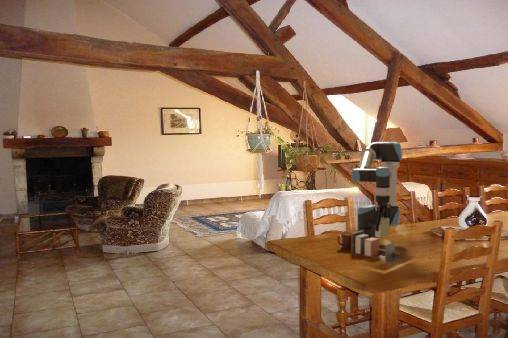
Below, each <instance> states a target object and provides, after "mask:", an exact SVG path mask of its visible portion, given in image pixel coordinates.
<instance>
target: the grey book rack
mask: <svg viewBox="0 0 508 338" xmlns="http://www.w3.org/2000/svg"><path fill="white" fill-rule="evenodd" d="M353 232H354V231H353ZM361 234H364V231H358V232H357V231H355V232H354V233H351V249H350V254H354V255H359V256H362V257H367V258H372V259H376V260H381V261H383V262H384V261H385V262H392V261H388V260H385V249H380V248H379V254H378V255H375V256H372V257H369V256H365V255H364V254H361V255H360V254H356V253H355V236H358V235H361ZM394 256H396V257H399V258H398V259H401V253H400V252H395V254H394ZM395 260H397V259H395ZM395 260H394V261H395Z"/></svg>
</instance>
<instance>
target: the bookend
mask: <svg viewBox="0 0 508 338" xmlns="http://www.w3.org/2000/svg"><path fill="white" fill-rule="evenodd" d="M395 245H396V244H395V243H394V242H391V243H389V244H385V249H384V250H385V260H388V261H387V262H389V261H391V262H393V261H395V259H396V260H398V259H400V258H399V257H396V256H394V254H395V250H396V247H395Z"/></svg>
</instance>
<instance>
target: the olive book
mask: <svg viewBox="0 0 508 338" xmlns="http://www.w3.org/2000/svg"><path fill="white" fill-rule="evenodd" d="M380 225H381V231H380V237H378V238H379V239H380V238H386V237H389V236H390V226H389V218H386V217H381V220H380Z"/></svg>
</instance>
